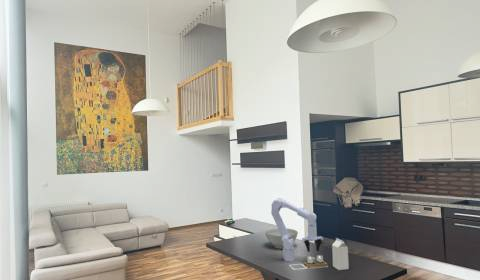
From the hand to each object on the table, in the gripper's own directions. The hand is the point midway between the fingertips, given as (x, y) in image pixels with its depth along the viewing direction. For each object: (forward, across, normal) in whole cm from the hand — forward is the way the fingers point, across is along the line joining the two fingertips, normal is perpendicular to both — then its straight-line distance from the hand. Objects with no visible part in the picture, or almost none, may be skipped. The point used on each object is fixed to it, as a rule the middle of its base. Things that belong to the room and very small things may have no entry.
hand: (313, 251), depth 211 cm
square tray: (+8, -14, -6) cm, 18 cm away
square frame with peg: (+8, 0, 0) cm, 8 cm away
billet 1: (+7, -6, -7) cm, 12 cm away
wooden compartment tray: (+8, -2, -7) cm, 11 cm away
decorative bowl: (+9, -7, +46) cm, 48 cm away
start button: (+7, 0, 0) cm, 7 cm away
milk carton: (+9, +12, -15) cm, 21 cm away
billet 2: (+7, +1, -7) cm, 10 cm away
